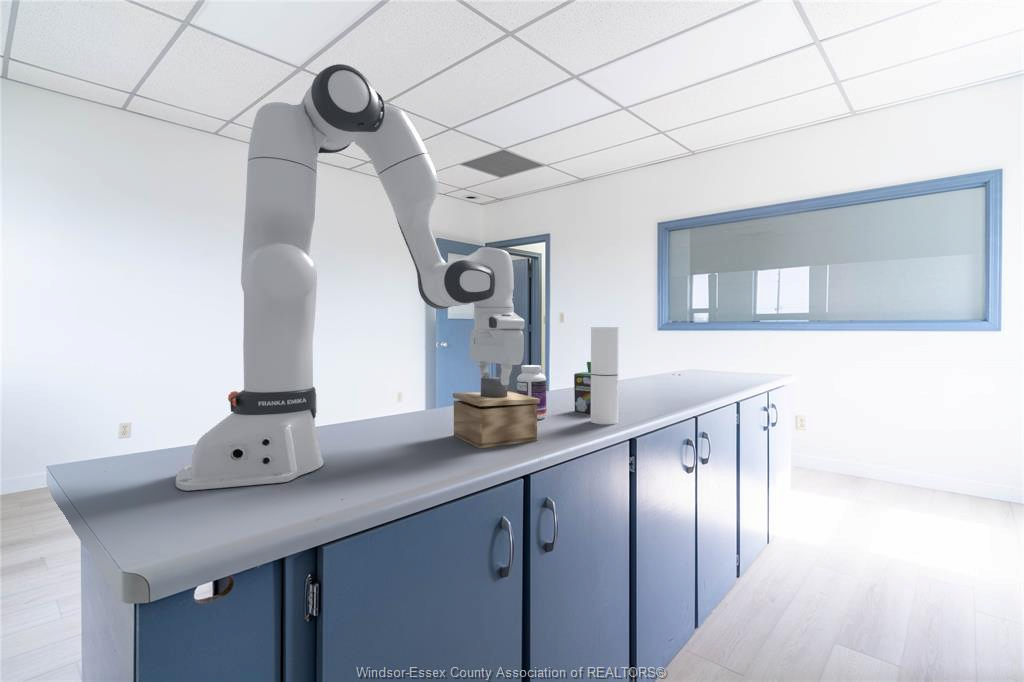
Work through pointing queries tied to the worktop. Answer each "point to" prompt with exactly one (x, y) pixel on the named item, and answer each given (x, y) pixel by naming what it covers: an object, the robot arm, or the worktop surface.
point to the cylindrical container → (604, 375)
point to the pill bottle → (533, 386)
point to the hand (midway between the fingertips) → (494, 382)
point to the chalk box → (583, 390)
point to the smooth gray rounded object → (492, 388)
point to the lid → (496, 399)
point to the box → (495, 424)
